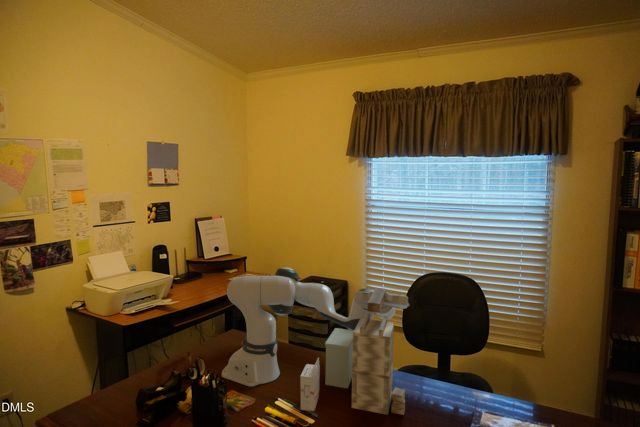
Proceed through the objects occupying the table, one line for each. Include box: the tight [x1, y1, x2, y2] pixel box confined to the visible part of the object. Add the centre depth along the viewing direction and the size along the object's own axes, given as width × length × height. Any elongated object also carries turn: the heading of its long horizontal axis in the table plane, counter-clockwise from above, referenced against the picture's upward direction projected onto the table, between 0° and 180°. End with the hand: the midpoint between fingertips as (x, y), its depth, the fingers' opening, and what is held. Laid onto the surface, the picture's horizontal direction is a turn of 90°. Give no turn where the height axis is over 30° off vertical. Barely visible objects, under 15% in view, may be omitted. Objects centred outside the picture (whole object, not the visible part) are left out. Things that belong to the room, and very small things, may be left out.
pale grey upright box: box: [324, 327, 354, 389], centre depth 140 cm, size 9×15×16 cm, turn 163°
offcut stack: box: [391, 387, 406, 416], centre depth 120 cm, size 4×5×6 cm
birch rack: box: [351, 314, 395, 416], centre depth 125 cm, size 12×13×28 cm
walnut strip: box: [367, 287, 387, 313], centre depth 128 cm, size 4×18×3 cm, turn 163°
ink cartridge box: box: [299, 357, 321, 412], centre depth 123 cm, size 9×5×15 cm, turn 168°
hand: (378, 294), depth 132 cm, fingers closed on walnut strip, 4 cm apart
